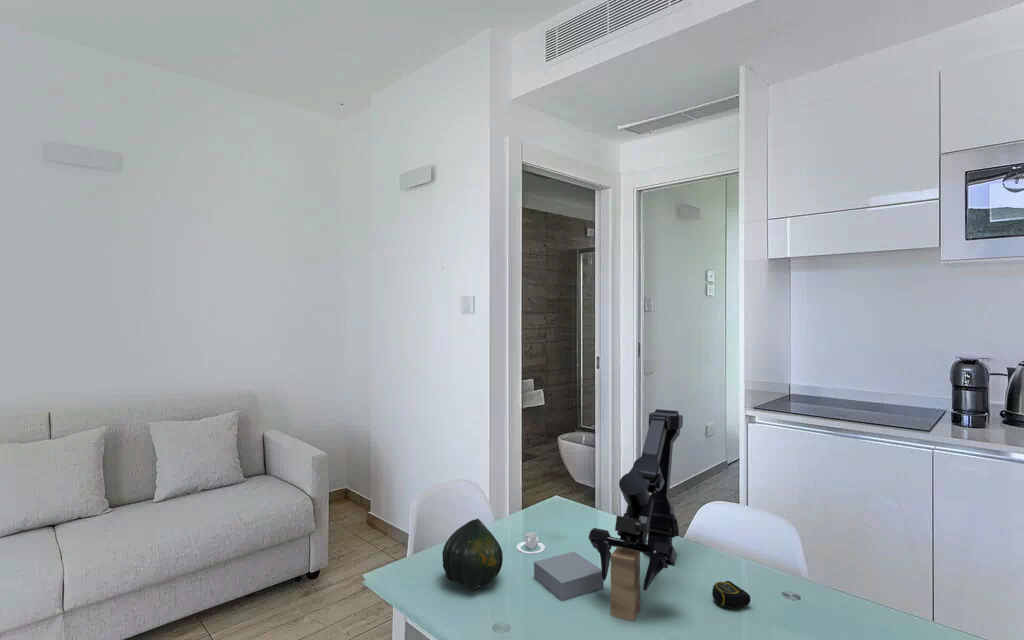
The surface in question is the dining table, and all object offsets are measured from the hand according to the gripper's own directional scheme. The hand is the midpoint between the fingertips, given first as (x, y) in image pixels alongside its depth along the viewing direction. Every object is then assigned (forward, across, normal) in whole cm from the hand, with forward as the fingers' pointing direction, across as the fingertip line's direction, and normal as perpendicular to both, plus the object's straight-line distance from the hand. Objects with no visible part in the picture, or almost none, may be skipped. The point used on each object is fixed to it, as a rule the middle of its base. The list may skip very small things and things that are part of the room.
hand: (623, 584), depth 114 cm
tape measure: (-7, +19, +17) cm, 27 cm away
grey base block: (0, -16, +10) cm, 19 cm away
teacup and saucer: (-11, -31, +21) cm, 39 cm away
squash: (+7, -37, +3) cm, 38 cm away
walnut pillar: (+4, 0, +6) cm, 7 cm away
